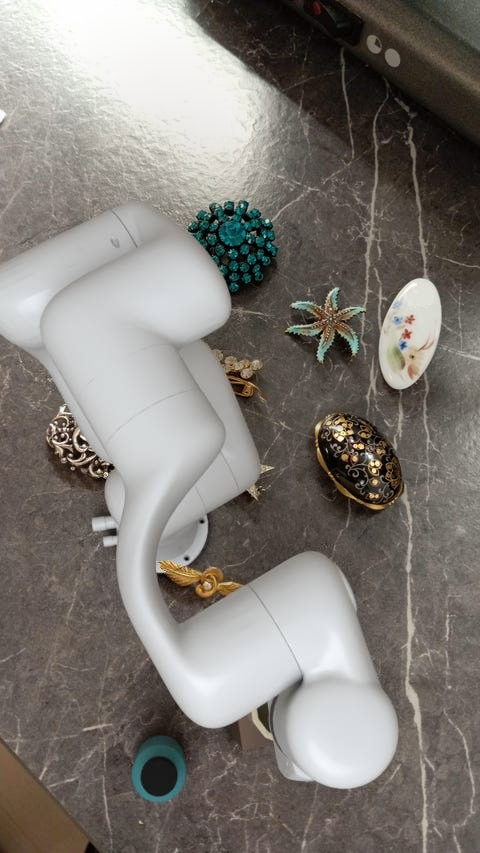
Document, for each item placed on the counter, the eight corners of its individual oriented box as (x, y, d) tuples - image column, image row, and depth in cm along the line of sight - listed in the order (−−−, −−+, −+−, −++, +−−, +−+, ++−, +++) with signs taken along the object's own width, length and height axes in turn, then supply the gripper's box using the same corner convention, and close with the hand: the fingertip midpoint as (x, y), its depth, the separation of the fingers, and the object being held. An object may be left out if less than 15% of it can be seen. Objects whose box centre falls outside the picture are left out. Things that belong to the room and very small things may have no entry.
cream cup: (249, 740, 99) (256, 749, 89) (239, 673, 100) (245, 674, 91) (313, 730, 99) (328, 737, 90) (302, 663, 101) (315, 663, 91)
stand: (231, 735, 119) (242, 750, 98) (221, 665, 121) (230, 666, 100) (298, 724, 119) (323, 737, 99) (287, 655, 122) (309, 653, 101)
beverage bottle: (134, 735, 118) (125, 749, 98) (185, 730, 118) (186, 743, 99) (136, 788, 116) (128, 813, 97) (188, 783, 117) (190, 807, 97)
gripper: (255, 623, 71) (240, 631, 89) (287, 836, 67) (265, 800, 85) (347, 609, 72) (314, 620, 90) (384, 819, 68) (342, 787, 86)
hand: (290, 708), depth 87 cm, fingers closed
